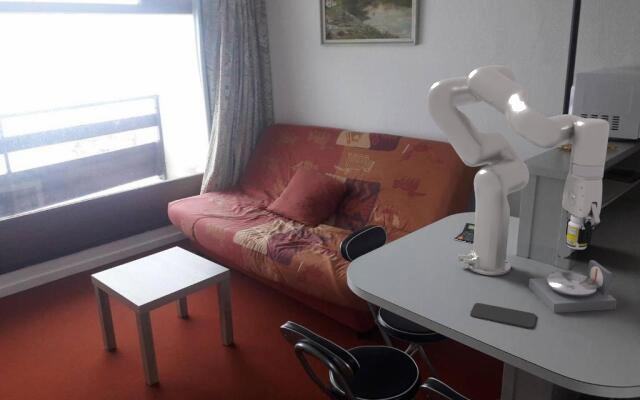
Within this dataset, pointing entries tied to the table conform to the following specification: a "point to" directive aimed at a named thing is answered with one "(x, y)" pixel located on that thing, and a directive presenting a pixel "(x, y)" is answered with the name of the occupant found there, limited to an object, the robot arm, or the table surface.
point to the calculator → (467, 233)
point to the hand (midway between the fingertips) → (577, 238)
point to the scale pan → (572, 284)
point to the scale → (577, 303)
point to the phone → (503, 315)
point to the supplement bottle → (574, 233)
